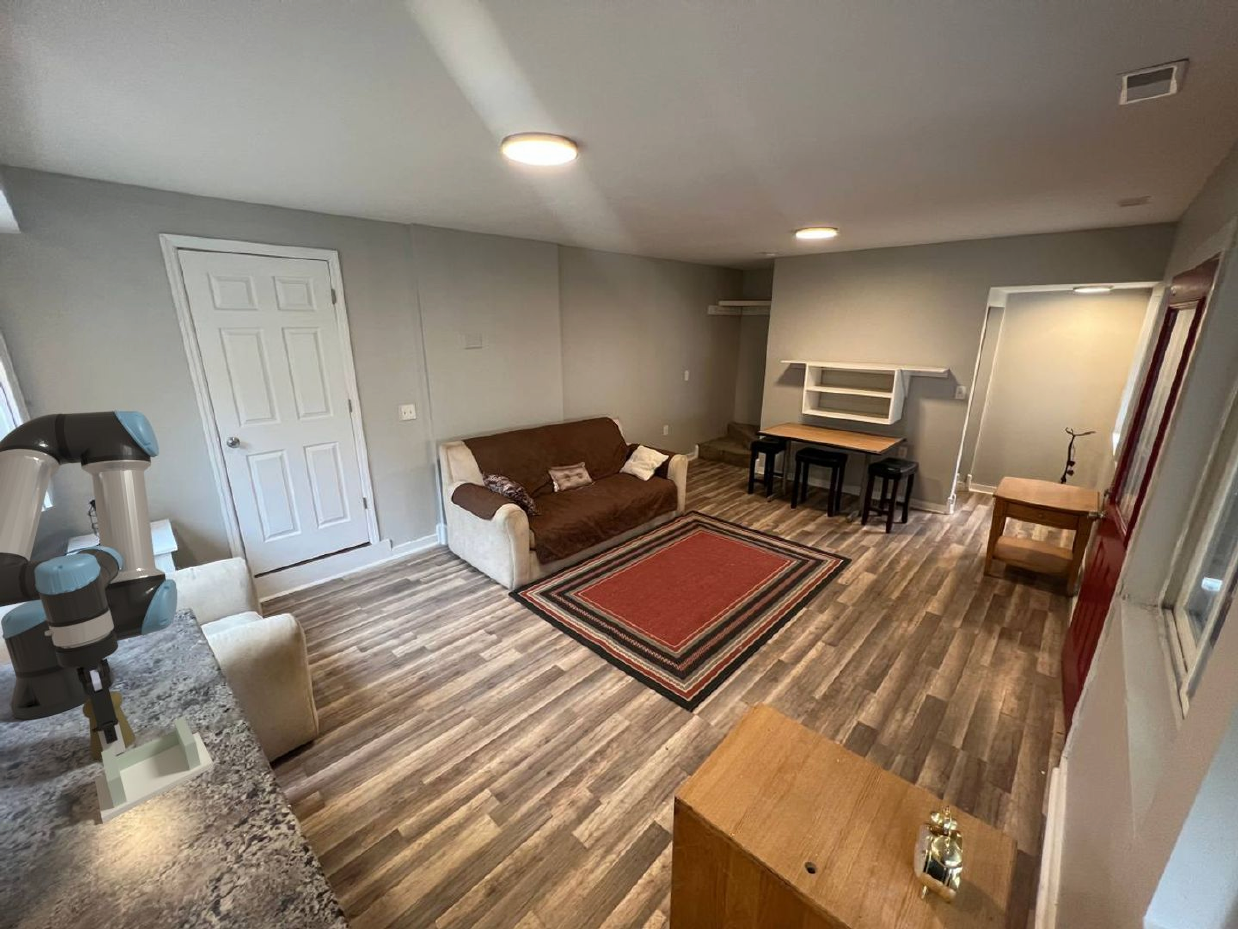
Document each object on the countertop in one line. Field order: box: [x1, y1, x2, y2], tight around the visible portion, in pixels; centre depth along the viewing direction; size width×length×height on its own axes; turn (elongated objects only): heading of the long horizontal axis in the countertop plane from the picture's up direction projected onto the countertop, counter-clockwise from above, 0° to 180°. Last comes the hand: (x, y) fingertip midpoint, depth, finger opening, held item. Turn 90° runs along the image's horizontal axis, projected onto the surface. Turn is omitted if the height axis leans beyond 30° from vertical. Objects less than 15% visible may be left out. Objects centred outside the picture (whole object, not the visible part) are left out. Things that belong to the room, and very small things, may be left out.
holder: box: [94, 716, 215, 824], centre depth 85 cm, size 12×14×6 cm
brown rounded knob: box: [82, 690, 136, 760], centre depth 91 cm, size 6×6×11 cm
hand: (113, 745), depth 92 cm, fingers open, 6 cm apart
